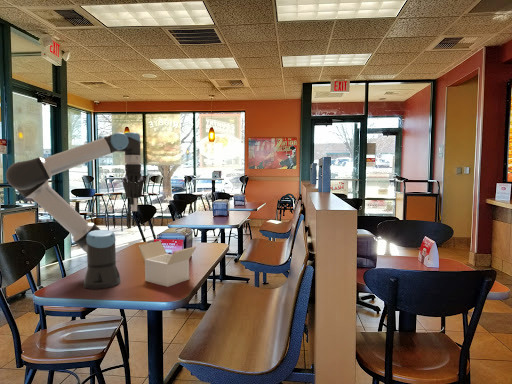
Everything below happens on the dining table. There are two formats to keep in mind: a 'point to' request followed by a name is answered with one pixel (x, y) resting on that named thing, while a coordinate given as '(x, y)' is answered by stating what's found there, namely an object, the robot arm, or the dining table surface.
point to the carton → (166, 270)
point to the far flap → (152, 249)
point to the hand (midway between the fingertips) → (134, 210)
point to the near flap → (181, 255)
